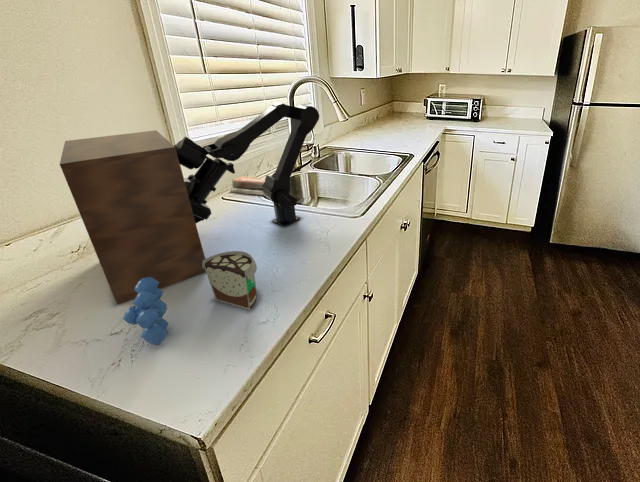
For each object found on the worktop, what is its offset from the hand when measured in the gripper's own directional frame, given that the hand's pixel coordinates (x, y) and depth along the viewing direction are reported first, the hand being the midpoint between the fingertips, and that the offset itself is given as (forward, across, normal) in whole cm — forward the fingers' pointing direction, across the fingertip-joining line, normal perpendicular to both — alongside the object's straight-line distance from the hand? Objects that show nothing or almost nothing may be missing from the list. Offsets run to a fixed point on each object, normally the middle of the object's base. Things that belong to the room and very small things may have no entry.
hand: (169, 227), depth 85 cm
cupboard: (+10, 0, +3) cm, 10 cm away
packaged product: (-17, -35, +30) cm, 49 cm away
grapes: (+13, +29, 0) cm, 32 cm away
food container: (+1, +29, +12) cm, 31 cm away
